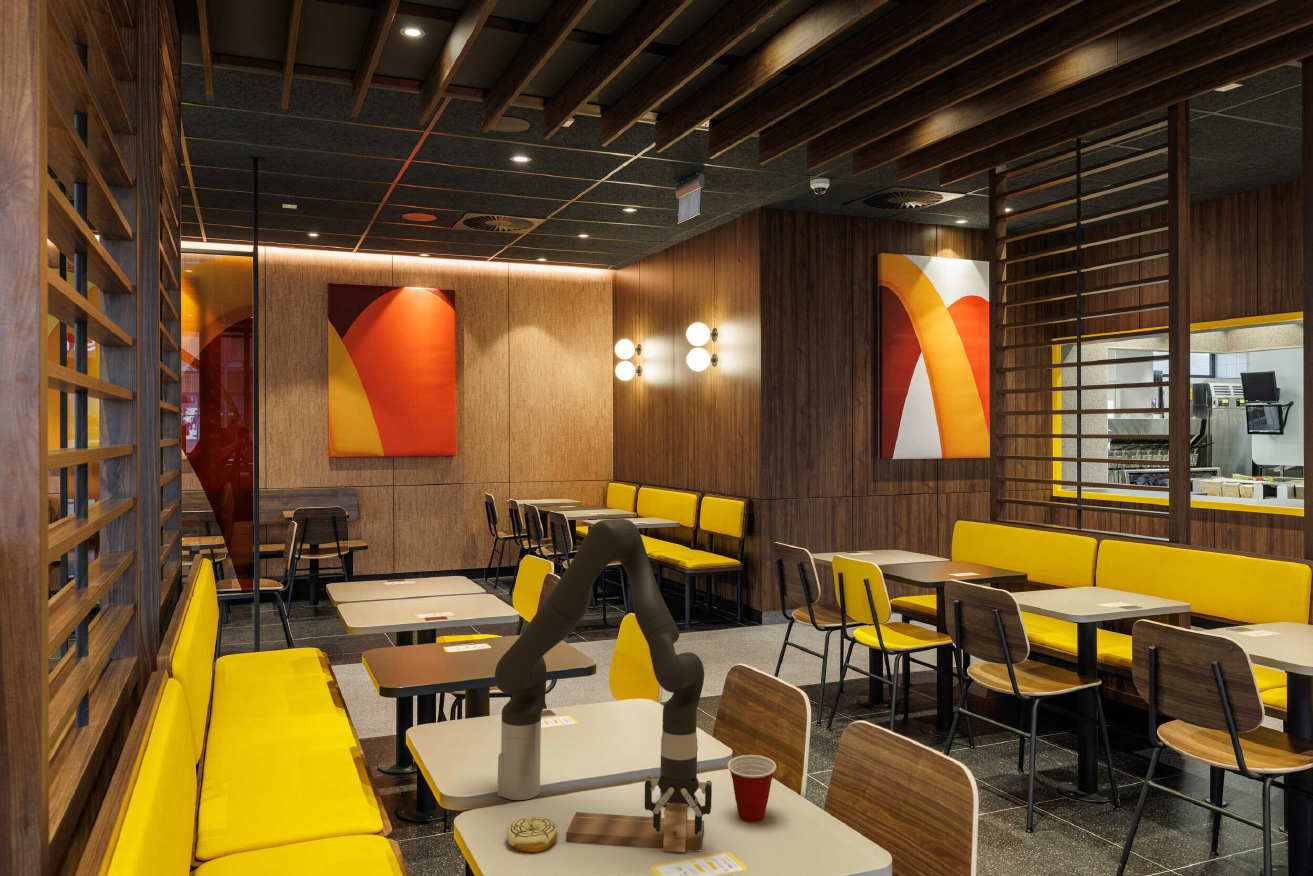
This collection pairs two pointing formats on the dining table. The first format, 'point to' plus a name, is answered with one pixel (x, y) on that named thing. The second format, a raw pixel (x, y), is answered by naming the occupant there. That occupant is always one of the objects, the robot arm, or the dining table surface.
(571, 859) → the dining table surface
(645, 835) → the board
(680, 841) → the block
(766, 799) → the plastic cup
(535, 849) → the decorated donut
